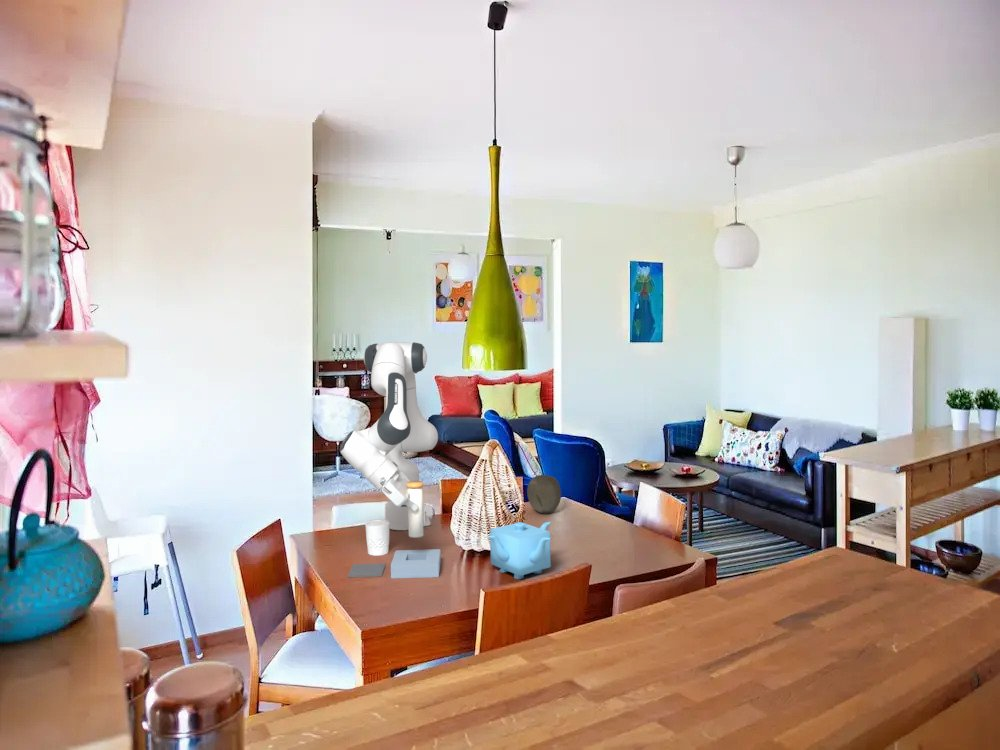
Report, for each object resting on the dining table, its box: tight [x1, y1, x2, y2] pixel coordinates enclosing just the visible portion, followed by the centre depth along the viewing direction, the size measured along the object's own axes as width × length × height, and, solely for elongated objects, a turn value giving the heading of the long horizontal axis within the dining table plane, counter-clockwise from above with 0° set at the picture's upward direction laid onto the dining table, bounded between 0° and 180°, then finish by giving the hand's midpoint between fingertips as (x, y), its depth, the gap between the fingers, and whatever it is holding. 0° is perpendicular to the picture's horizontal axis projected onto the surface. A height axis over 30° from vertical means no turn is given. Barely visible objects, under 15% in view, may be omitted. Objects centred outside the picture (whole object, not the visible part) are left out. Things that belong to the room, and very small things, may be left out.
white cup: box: [364, 519, 391, 557], centre depth 228 cm, size 8×8×10 cm
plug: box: [407, 480, 424, 538], centre depth 210 cm, size 5×5×16 cm
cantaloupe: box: [526, 474, 562, 515], centre depth 277 cm, size 14×14×15 cm
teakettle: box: [486, 521, 552, 580], centre depth 208 cm, size 19×19×15 cm
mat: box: [347, 562, 387, 578], centre depth 211 cm, size 10×10×1 cm
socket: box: [390, 548, 442, 579], centre depth 211 cm, size 14×14×4 cm
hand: (417, 506), depth 210 cm, fingers closed on plug, 4 cm apart
